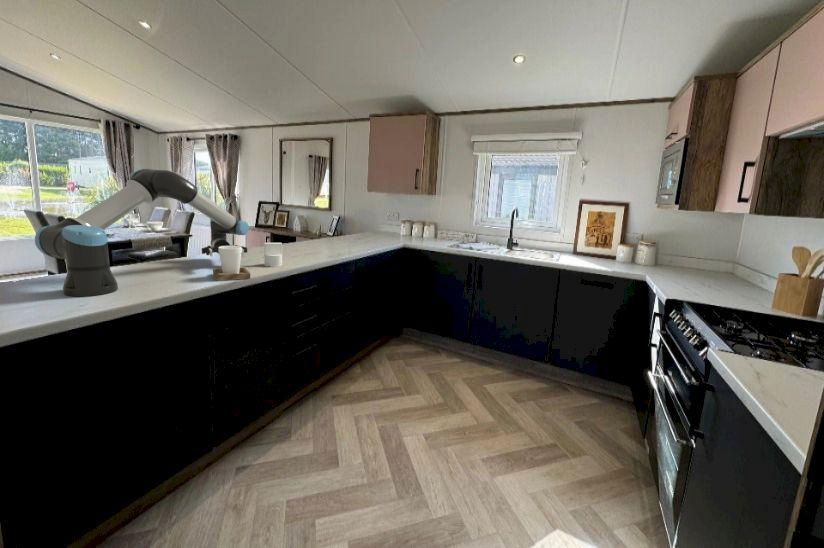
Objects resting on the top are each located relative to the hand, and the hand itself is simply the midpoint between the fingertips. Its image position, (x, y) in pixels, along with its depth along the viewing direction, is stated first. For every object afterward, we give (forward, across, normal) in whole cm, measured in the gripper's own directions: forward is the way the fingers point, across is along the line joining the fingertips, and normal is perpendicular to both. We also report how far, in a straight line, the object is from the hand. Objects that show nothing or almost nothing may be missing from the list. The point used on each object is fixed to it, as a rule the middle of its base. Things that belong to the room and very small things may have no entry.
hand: (227, 253), depth 176 cm
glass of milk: (-12, -24, -10) cm, 28 cm away
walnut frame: (+10, 0, -9) cm, 14 cm away
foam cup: (+10, 0, -9) cm, 13 cm away
